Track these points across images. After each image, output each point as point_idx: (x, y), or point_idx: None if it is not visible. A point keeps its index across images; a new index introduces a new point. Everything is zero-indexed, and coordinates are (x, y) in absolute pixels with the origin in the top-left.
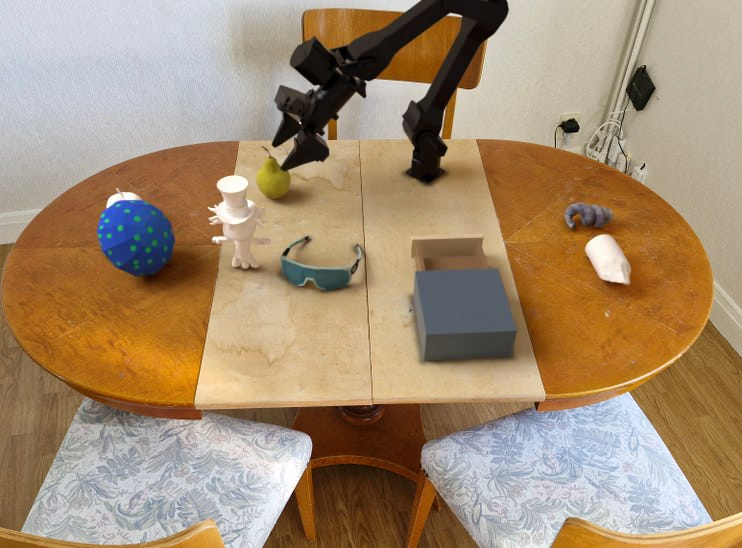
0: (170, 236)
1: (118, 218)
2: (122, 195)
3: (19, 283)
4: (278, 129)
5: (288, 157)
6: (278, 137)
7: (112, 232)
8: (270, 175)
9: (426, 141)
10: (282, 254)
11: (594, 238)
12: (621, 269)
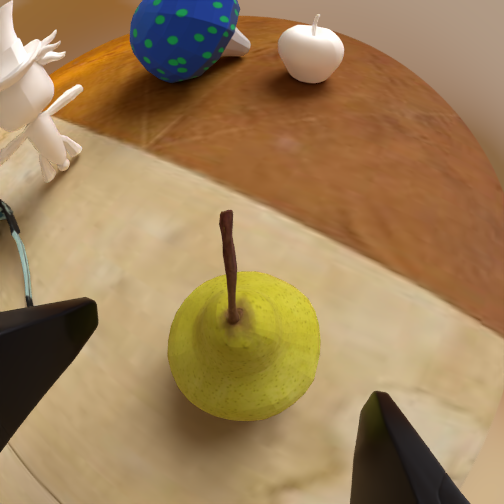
0: (139, 43)
1: None
2: (312, 25)
3: (252, 18)
4: (434, 473)
5: (11, 317)
6: (382, 451)
7: None
8: (199, 303)
9: None
10: (2, 205)
11: None
12: None
